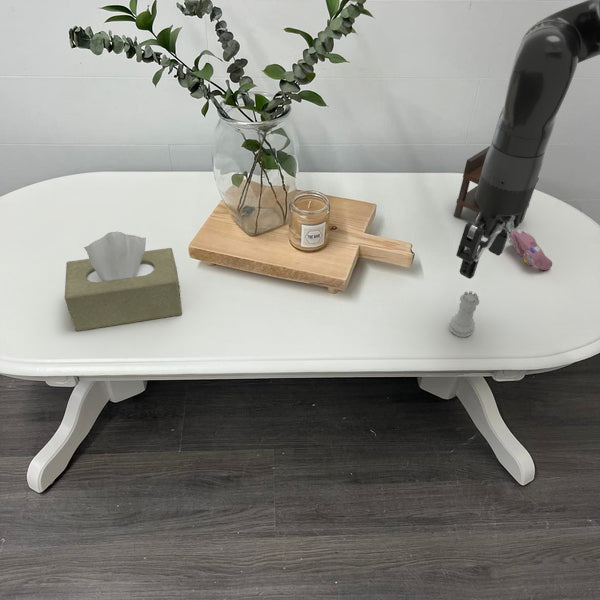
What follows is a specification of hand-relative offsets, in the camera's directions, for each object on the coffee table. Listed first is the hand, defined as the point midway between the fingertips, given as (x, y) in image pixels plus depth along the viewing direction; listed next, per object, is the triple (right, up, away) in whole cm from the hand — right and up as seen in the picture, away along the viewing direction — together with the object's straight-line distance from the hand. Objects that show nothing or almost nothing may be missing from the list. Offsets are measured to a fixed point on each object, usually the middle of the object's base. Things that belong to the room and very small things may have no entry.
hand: (480, 263), depth 92 cm
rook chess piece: (0, -11, +10) cm, 15 cm away
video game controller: (+17, +2, +26) cm, 31 cm away
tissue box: (-60, -7, +13) cm, 62 cm away
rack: (+13, +12, +36) cm, 40 cm away
